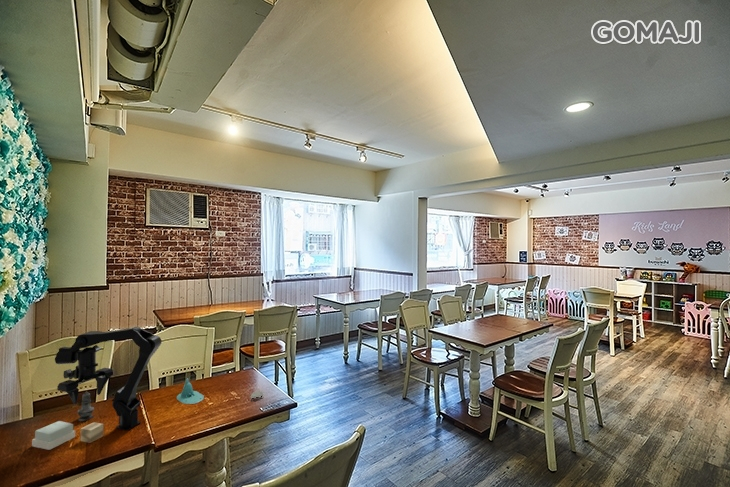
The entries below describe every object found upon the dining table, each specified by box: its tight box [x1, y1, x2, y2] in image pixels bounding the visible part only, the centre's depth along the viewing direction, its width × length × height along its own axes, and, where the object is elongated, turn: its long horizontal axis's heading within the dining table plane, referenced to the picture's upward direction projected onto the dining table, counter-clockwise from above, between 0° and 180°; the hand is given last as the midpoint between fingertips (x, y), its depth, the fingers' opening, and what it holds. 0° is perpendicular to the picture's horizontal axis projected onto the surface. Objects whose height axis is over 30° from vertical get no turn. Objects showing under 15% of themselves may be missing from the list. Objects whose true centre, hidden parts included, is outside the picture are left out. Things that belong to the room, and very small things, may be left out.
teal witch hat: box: [176, 378, 205, 405], centre depth 173 cm, size 12×20×9 cm, turn 47°
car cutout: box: [250, 389, 264, 399], centre depth 171 cm, size 15×7×4 cm, turn 121°
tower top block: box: [34, 420, 74, 443], centre depth 133 cm, size 8×8×3 cm
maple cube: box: [80, 422, 104, 444], centre depth 135 cm, size 5×5×5 cm
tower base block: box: [31, 430, 76, 451], centre depth 133 cm, size 9×9×3 cm
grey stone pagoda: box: [77, 390, 95, 422], centre depth 151 cm, size 6×6×12 cm
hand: (87, 399), depth 143 cm, fingers open, 9 cm apart
